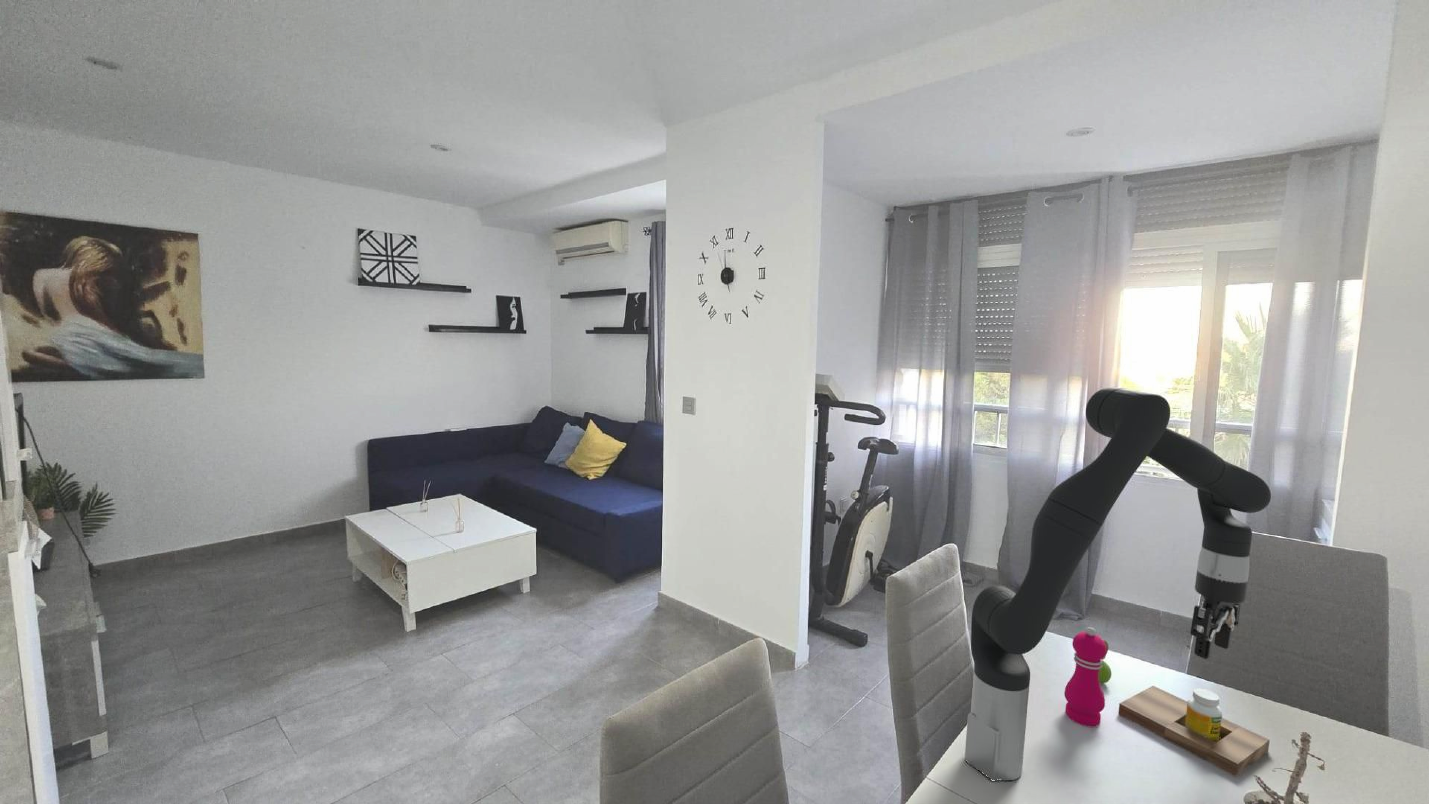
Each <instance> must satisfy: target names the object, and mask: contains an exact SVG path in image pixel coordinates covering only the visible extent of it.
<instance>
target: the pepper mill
mask: <svg viewBox="0 0 1429 804" xmlns="http://www.w3.org/2000/svg"><path fill="white" fill-rule="evenodd" d="M1102 639H1103V638H1101V637H1100V636H1099V635H1097V631H1096V629H1095V628H1094V627H1092V626H1087V627H1086V629H1085V632H1084V631H1083V632H1079V633H1077V634H1076V635H1074V637H1073V639H1072V644H1071V645H1072V648H1073V650H1074V653H1073V655H1074V657H1073V661H1074V663H1075V668H1074V669H1075V670H1074V672H1073V675H1072V676H1071V677H1070V679H1069V681H1068V682H1067V683H1066V685H1065V688H1064V698H1065V700H1066V701H1067V702H1066V704H1065V711H1064V712H1065V715H1066V716H1067V718H1069V719H1070V721H1073V722H1074V723H1076V724H1079V725H1081V726H1083V727H1089V728H1090V727H1091V728H1093V727H1095V728H1096V727H1098V726H1100V724H1101V719H1102V718H1101V717H1102V716H1101V715H1102V714H1101V712H1102V711H1103V710H1104V708H1105V706H1106V698H1105V694H1104V692H1103V689H1102V687H1101V684H1099V669H1101V668H1102V663H1103V661H1104V660H1103V661H1102V658H1104V657H1105V655H1106V656H1107V654H1106V652H1107V649H1106V645H1105V643H1104V641H1103V640H1102ZM1107 653H1108V652H1107ZM1105 658H1106V657H1105Z"/></svg>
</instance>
